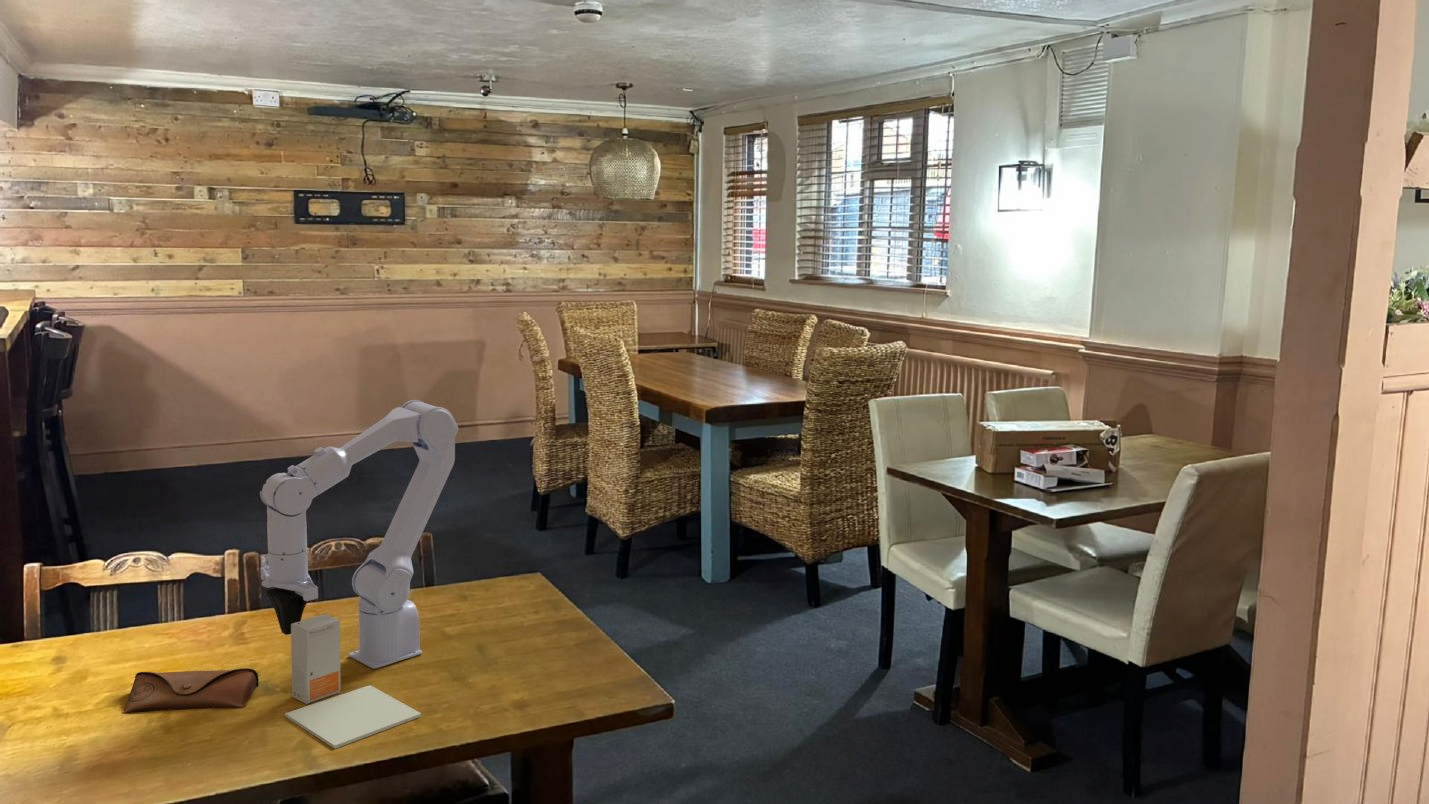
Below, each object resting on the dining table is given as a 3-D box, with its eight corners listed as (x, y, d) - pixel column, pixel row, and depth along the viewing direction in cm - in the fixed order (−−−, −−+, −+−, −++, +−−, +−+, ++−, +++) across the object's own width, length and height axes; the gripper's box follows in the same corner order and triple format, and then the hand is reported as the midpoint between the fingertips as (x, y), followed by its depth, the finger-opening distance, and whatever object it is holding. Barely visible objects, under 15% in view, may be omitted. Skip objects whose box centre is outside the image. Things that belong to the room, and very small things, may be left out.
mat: (370, 688, 166) (370, 685, 166) (421, 716, 157) (421, 713, 157) (285, 716, 155) (285, 713, 155) (334, 748, 146) (334, 745, 146)
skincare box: (307, 705, 159) (305, 630, 157) (291, 697, 162) (289, 623, 160) (342, 692, 164) (340, 619, 162) (326, 684, 166) (325, 612, 164)
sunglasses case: (116, 714, 154) (122, 668, 156) (131, 719, 160) (136, 674, 162) (247, 708, 157) (251, 662, 160) (257, 712, 164) (260, 669, 166)
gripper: (240, 544, 166) (243, 626, 168) (286, 566, 157) (288, 652, 159) (283, 536, 171) (285, 615, 173) (329, 556, 162) (331, 639, 164)
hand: (290, 632), depth 167 cm, fingers closed
